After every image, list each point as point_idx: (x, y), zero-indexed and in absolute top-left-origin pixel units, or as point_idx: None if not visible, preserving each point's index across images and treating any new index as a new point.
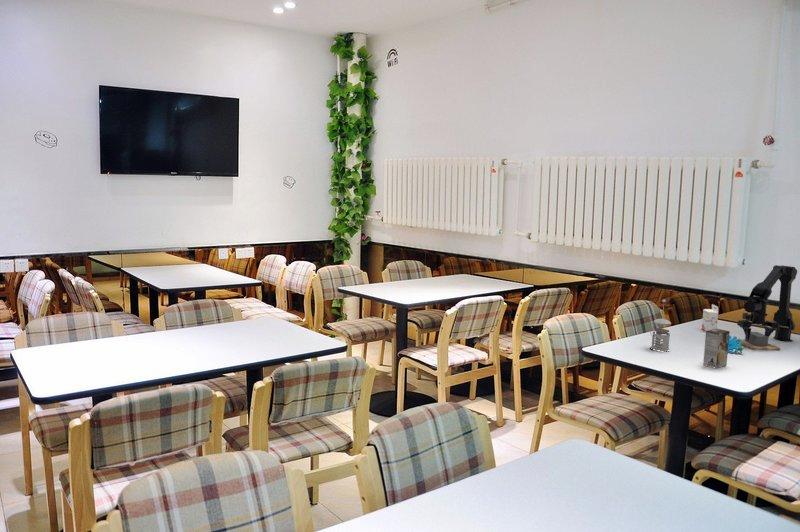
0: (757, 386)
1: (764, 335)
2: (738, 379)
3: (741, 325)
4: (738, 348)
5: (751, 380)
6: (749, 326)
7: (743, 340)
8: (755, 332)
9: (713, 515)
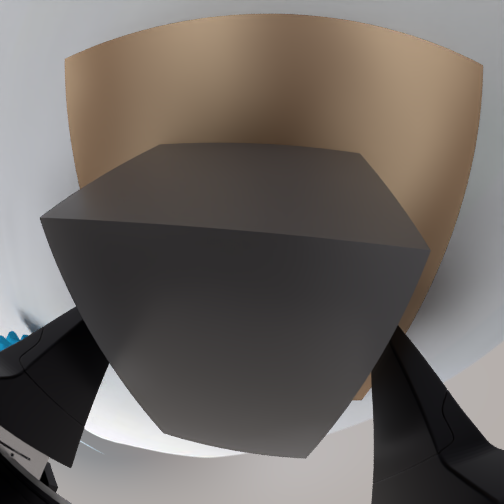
0: (111, 440)
1: (295, 443)
2: (89, 425)
3: None
4: None
5: (106, 434)
6: (44, 474)
7: (155, 110)
8: (284, 323)
9: (87, 445)
